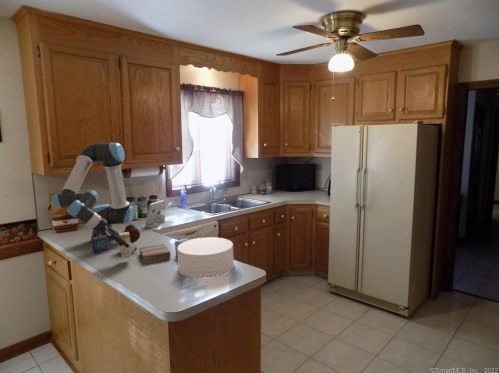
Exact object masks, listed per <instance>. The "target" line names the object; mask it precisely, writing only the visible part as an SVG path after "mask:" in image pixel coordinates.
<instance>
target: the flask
mask: <svg viewBox="0 0 499 373" xmlns="http://www.w3.org/2000/svg"><path fill="white" fill-rule="evenodd" d="M101 235H102V234H99V236H98V237H94V238H92V242H91V243H92V251H93V254H99V253H100V254H101V253H103V252H107V251H109V250H110V246H109V242H108V236H106V235H104V236H101Z"/></svg>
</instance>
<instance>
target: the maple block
mask: <svg viewBox="0 0 499 373" xmlns="http://www.w3.org/2000/svg"><path fill="white" fill-rule="evenodd" d="M118 233H119V237H120V238H122V239H123V240H124V241H126V242H128V243H129V244H130V234H129V232H125V233H123V232H121V233H120V232H118ZM119 250H120V256H121V258H126V257H128V258H129V257H131V256H132V252H131V251H130V250H128V249H127V248H125V247H124V246H120V245H119Z"/></svg>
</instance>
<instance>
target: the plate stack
mask: <svg viewBox="0 0 499 373" xmlns="http://www.w3.org/2000/svg"><path fill="white" fill-rule="evenodd" d="M177 250H178V257H177V261H178V262H177V264H178V272H179V273H180V274H181V275H182V276H185V277H189V278H195V279H205V278H204V277H209V278H213V277H212V276H215V277H218V276H217V275H219V276H222V275H221V274H223V275H225V274H227V273H229V272H231V271H232V270H233V269H234V267H233V266H235V264H234V262H235V261H234V243H233V242H232V241H231V240H229V239H227V238H222V237H216V236H214V237H213V236H211V237H210V236H209V237H207V236H205V237H197V238H196V237H195V238H193V239H190V240H188V241H185V242H183V243H181V244H180V245H179V246H178V247H177ZM232 268H233V269H232ZM231 269H232V270H231ZM230 270H231V271H230ZM228 271H229V272H228ZM226 272H227V273H226ZM224 273H225V274H224Z"/></svg>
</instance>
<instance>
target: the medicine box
mask: <svg viewBox="0 0 499 373" xmlns="http://www.w3.org/2000/svg"><path fill="white" fill-rule="evenodd" d="M188 240H191V239H190V238H187V237H184V238H181V239H179V240H175V241H174V249H175V252H174V253H175V257H177V258H178V250H177V247H178V246H179V245H180V244H181V243H183V242H185V241H188Z"/></svg>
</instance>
